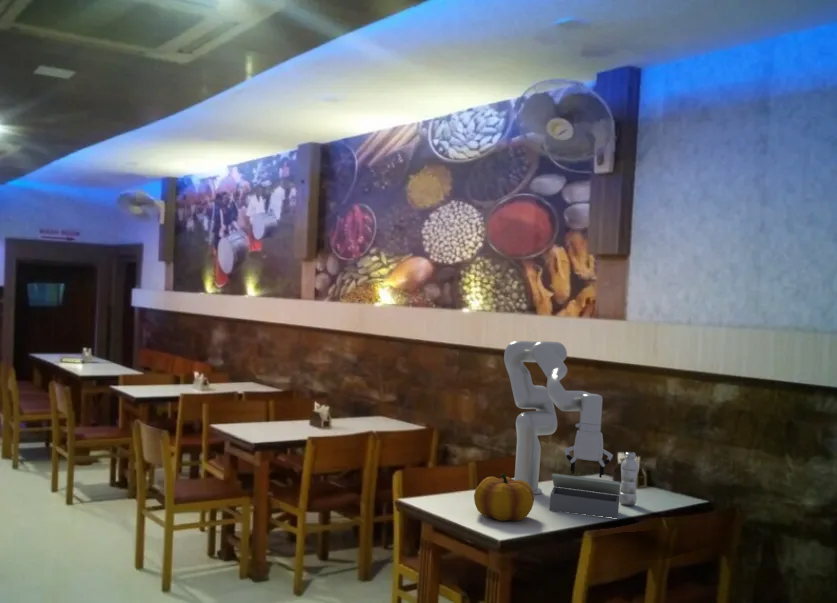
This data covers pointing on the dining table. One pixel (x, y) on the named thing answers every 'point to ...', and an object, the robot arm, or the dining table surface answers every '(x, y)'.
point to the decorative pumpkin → (504, 498)
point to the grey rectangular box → (584, 502)
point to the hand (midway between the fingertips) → (586, 475)
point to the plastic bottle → (628, 480)
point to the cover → (586, 484)
